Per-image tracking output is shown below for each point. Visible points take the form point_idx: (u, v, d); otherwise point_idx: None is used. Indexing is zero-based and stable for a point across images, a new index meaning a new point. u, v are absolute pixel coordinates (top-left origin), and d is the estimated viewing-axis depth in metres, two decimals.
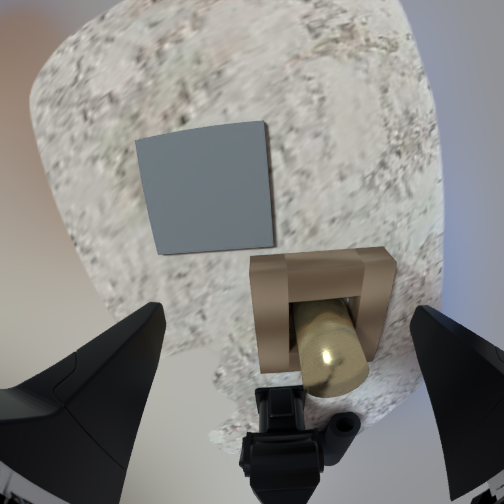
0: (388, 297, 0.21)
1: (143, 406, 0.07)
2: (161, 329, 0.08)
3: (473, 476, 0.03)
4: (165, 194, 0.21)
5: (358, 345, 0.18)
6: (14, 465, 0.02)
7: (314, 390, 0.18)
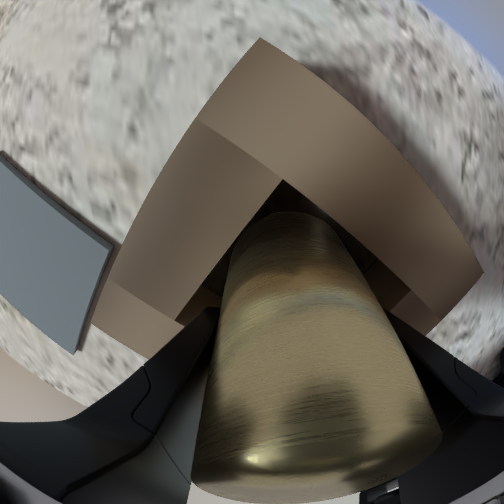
0: (359, 118, 0.06)
1: None
2: None
3: (424, 501, 0.03)
4: (20, 296, 0.13)
5: (318, 351, 0.04)
6: None
7: (303, 500, 0.05)
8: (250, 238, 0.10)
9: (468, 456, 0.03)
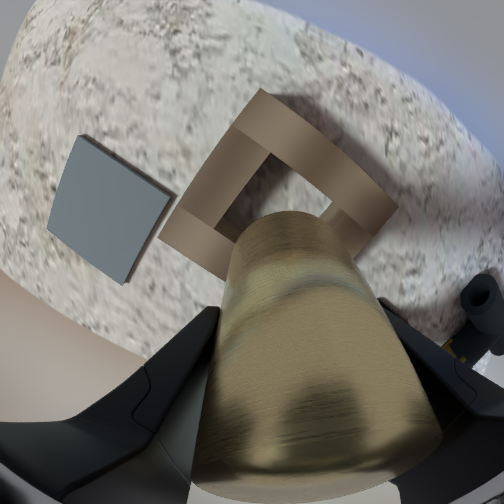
0: (305, 123, 0.15)
1: None
2: None
3: (424, 501, 0.03)
4: (84, 240, 0.21)
5: (318, 350, 0.04)
6: None
7: (303, 499, 0.05)
8: (250, 238, 0.10)
9: (468, 456, 0.03)
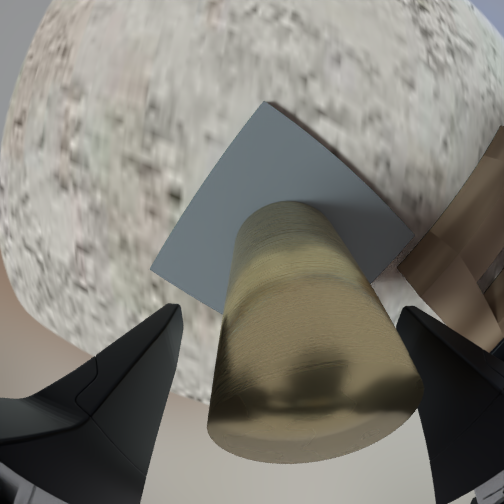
0: None
1: (163, 410, 0.07)
2: (179, 331, 0.08)
3: (459, 484, 0.03)
4: None
5: (313, 305, 0.05)
6: (39, 481, 0.02)
7: (305, 457, 0.06)
8: (253, 224, 0.11)
9: (502, 436, 0.03)
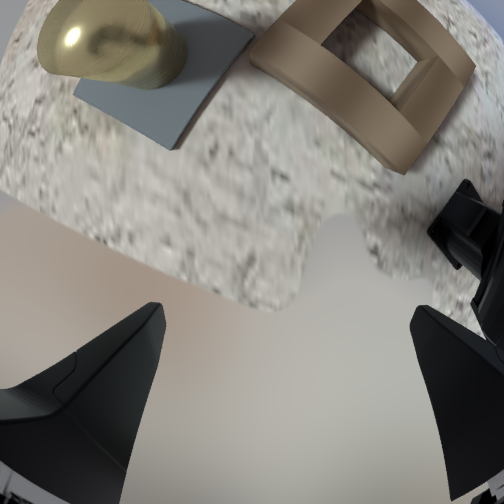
0: None
1: (143, 406, 0.07)
2: (161, 329, 0.08)
3: (473, 477, 0.03)
4: (126, 94, 0.15)
5: None
6: (14, 464, 0.02)
7: (74, 59, 0.07)
8: None
9: None
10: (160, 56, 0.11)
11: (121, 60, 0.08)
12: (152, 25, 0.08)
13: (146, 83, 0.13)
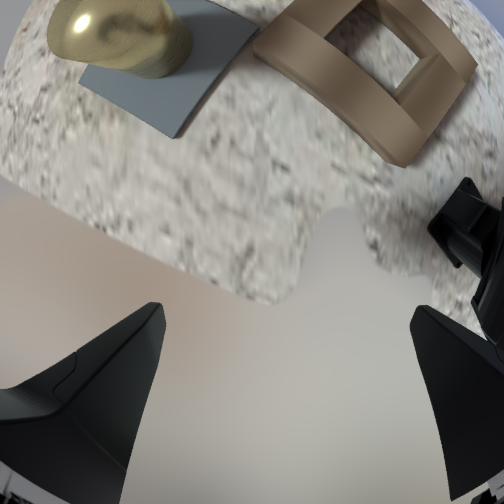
0: None
1: (143, 406, 0.07)
2: (161, 329, 0.08)
3: (473, 476, 0.03)
4: (130, 83, 0.15)
5: None
6: (14, 464, 0.02)
7: (84, 44, 0.07)
8: None
9: None
10: (167, 45, 0.11)
11: (130, 47, 0.08)
12: (160, 14, 0.08)
13: (152, 72, 0.13)
